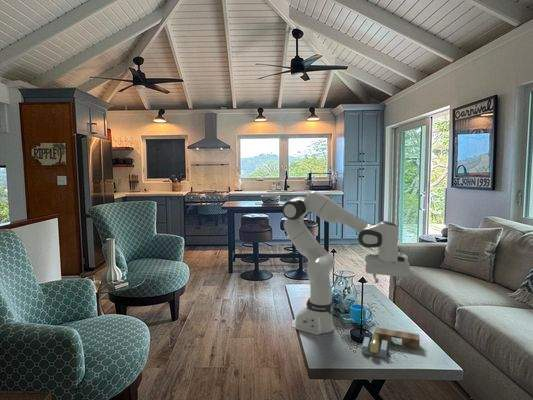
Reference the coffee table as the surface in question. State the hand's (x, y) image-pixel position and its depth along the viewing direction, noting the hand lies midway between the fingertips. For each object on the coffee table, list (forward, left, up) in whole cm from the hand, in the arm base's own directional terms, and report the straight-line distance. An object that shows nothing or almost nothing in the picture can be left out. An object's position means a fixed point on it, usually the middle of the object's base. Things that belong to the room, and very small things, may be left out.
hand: (387, 284), depth 165 cm
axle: (-4, -10, -28) cm, 30 cm away
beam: (+5, +1, -29) cm, 30 cm away
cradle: (-4, -10, -29) cm, 31 cm away
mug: (-14, +20, -29) cm, 38 cm away
